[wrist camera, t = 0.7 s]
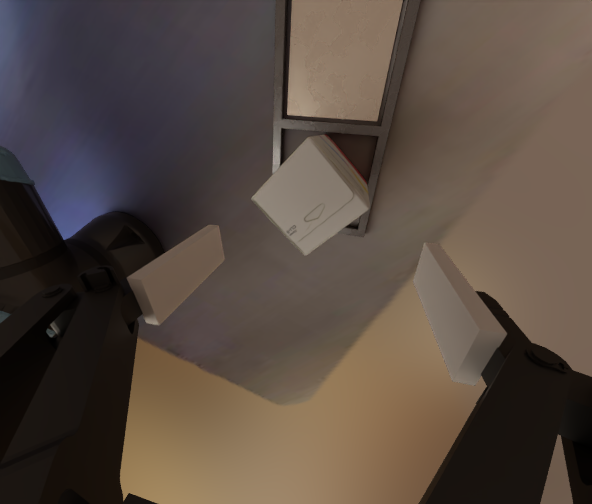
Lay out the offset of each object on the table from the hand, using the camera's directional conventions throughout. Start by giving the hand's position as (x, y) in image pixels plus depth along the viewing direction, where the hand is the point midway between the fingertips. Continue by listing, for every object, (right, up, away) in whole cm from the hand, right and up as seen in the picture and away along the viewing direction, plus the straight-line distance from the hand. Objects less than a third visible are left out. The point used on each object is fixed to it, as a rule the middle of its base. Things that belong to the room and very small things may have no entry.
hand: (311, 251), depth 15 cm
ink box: (+3, +10, +17) cm, 20 cm away
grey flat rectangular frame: (+3, +16, +13) cm, 21 cm away
